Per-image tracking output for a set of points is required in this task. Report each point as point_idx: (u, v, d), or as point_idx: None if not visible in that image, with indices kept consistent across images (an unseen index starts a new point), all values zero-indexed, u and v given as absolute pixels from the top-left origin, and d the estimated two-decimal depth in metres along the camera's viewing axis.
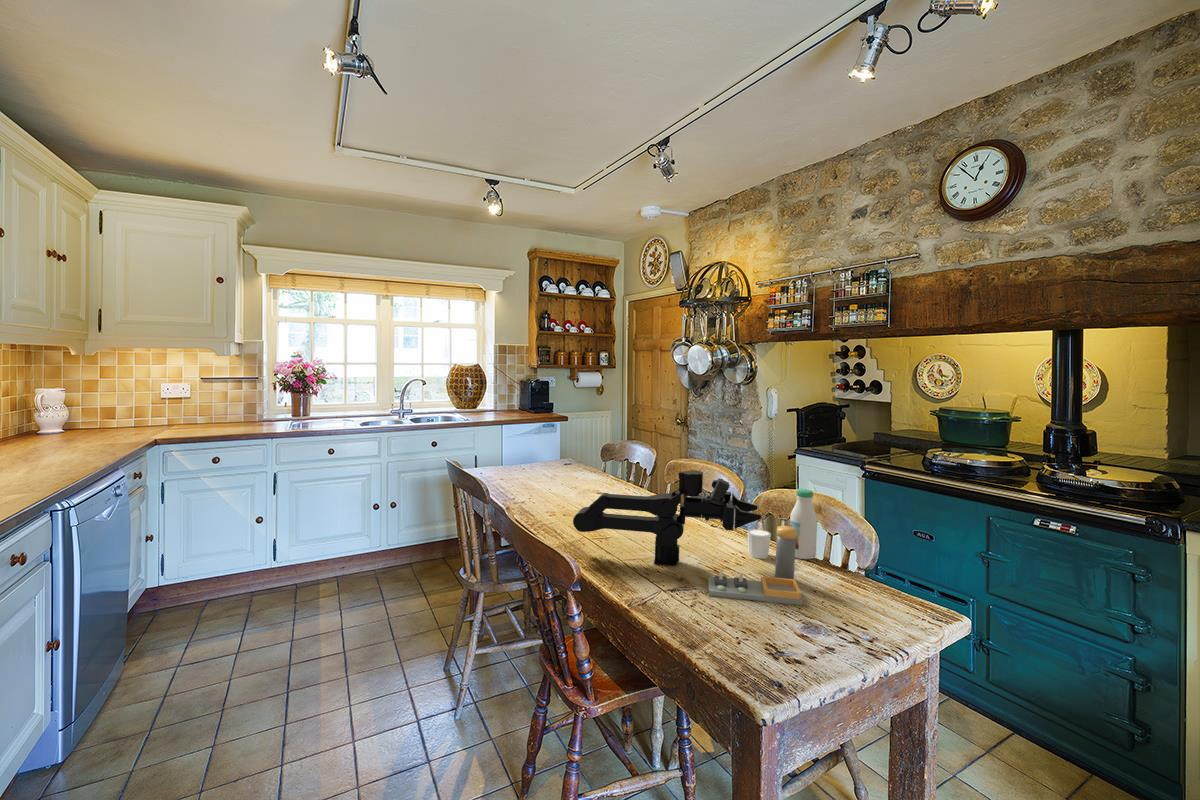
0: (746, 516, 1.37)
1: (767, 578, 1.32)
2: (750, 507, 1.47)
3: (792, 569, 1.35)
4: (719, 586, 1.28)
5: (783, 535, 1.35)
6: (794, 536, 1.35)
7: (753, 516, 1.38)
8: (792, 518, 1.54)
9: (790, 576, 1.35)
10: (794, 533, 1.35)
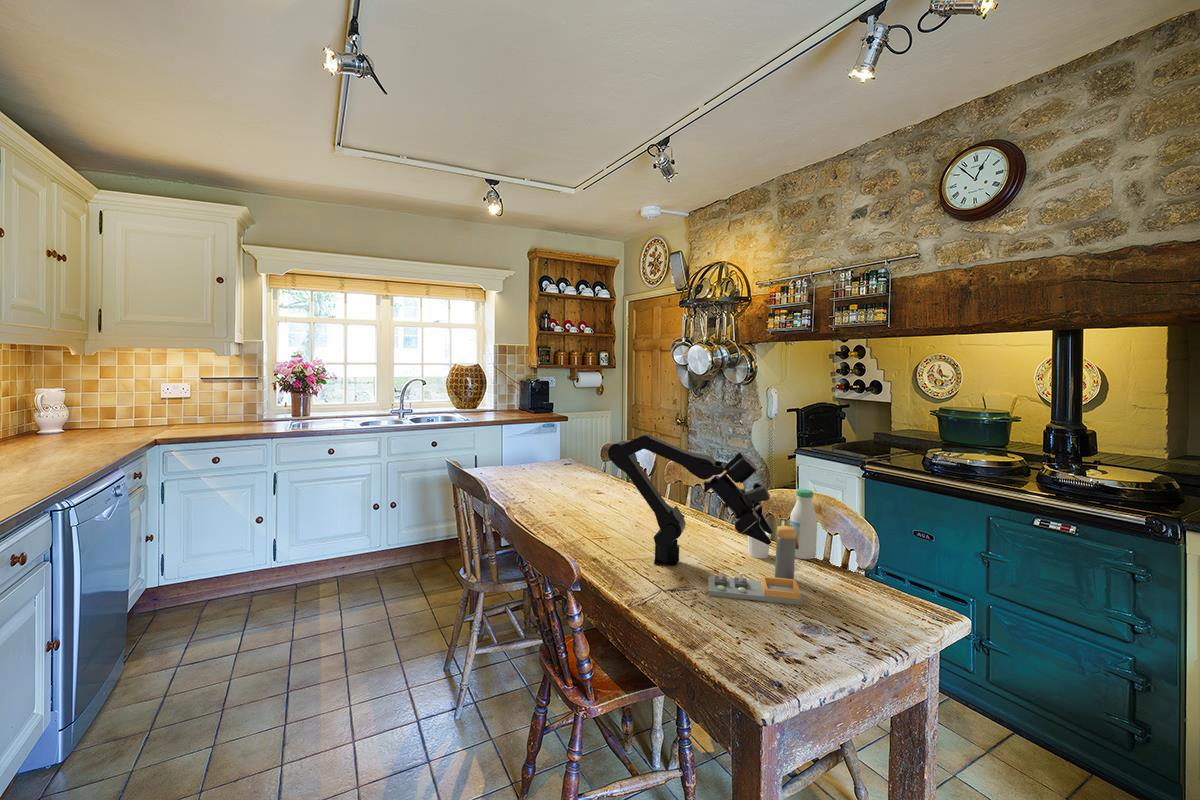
0: (759, 533, 1.33)
1: (767, 578, 1.32)
2: (766, 527, 1.42)
3: (792, 569, 1.35)
4: (719, 586, 1.28)
5: (783, 535, 1.35)
6: (794, 536, 1.35)
7: (765, 538, 1.33)
8: (792, 518, 1.54)
9: (790, 576, 1.35)
10: (794, 533, 1.35)
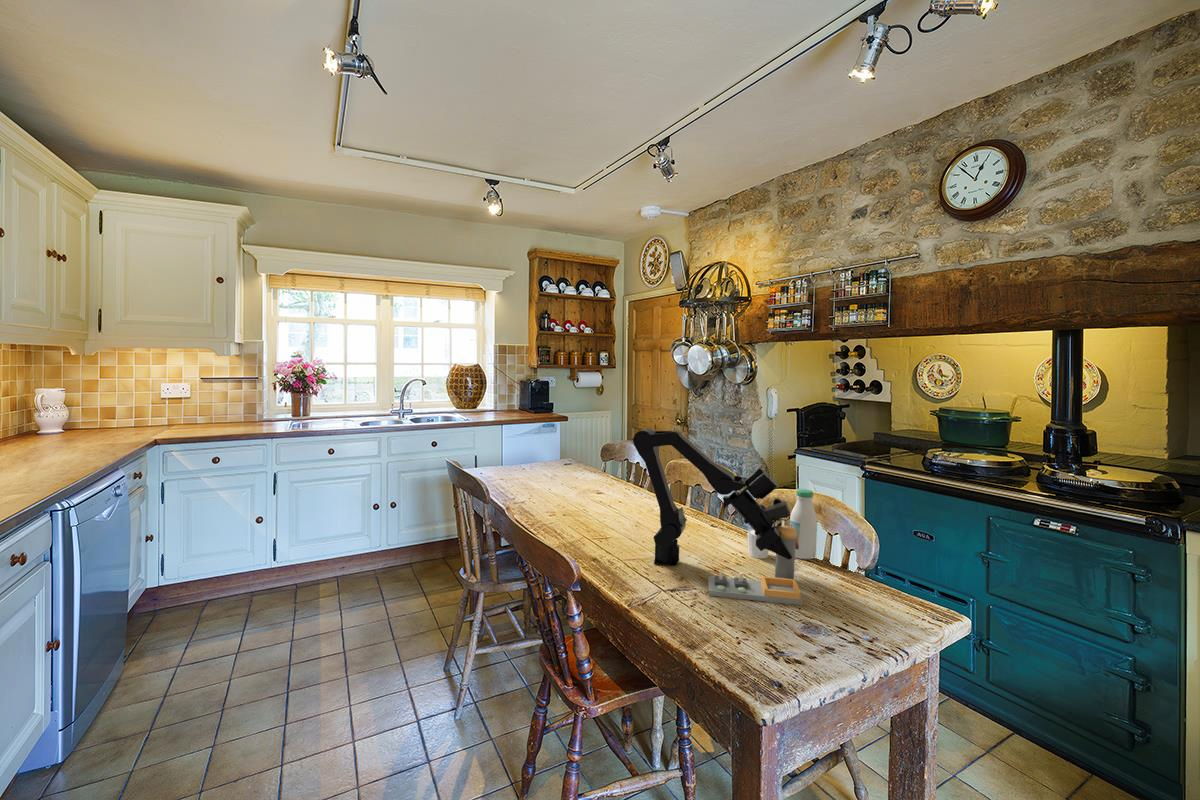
0: (780, 547, 1.34)
1: (767, 578, 1.32)
2: None
3: (792, 569, 1.35)
4: (719, 586, 1.28)
5: (783, 535, 1.35)
6: (794, 536, 1.35)
7: (786, 552, 1.34)
8: (792, 518, 1.54)
9: (790, 576, 1.35)
10: (794, 533, 1.35)
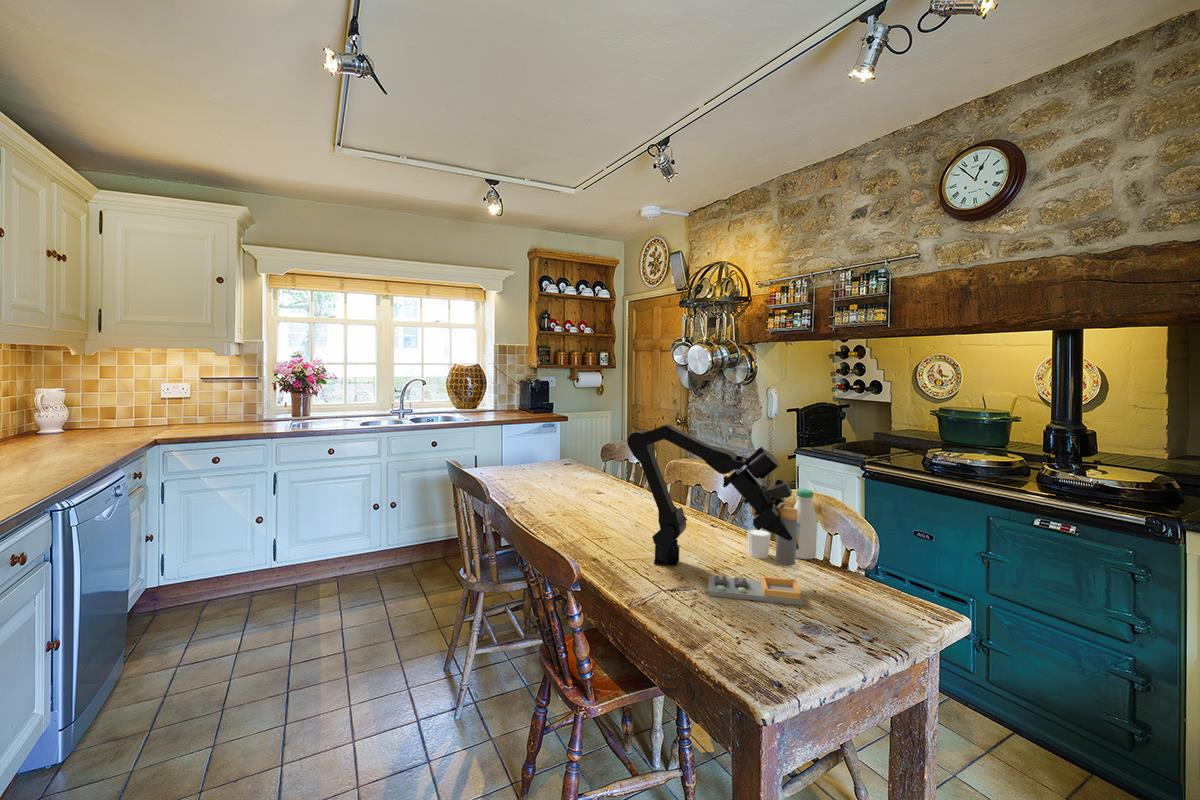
0: (780, 528, 1.31)
1: (767, 578, 1.32)
2: None
3: (793, 551, 1.32)
4: (719, 586, 1.28)
5: (783, 515, 1.31)
6: (795, 517, 1.31)
7: (785, 533, 1.30)
8: None
9: (790, 558, 1.32)
10: (795, 514, 1.31)
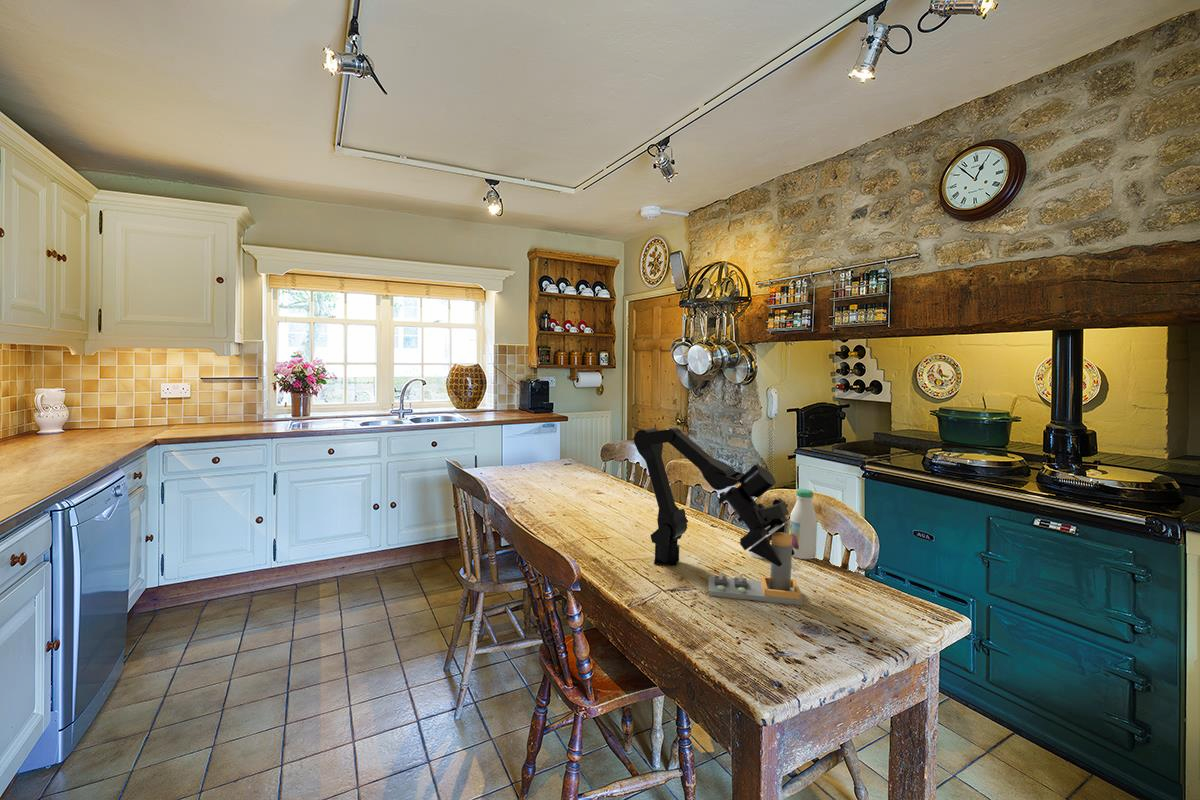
0: (768, 552, 1.23)
1: (767, 578, 1.32)
2: None
3: (786, 579, 1.26)
4: (719, 586, 1.28)
5: (775, 541, 1.26)
6: (788, 544, 1.25)
7: (774, 558, 1.23)
8: (792, 518, 1.54)
9: (783, 586, 1.26)
10: (788, 541, 1.25)
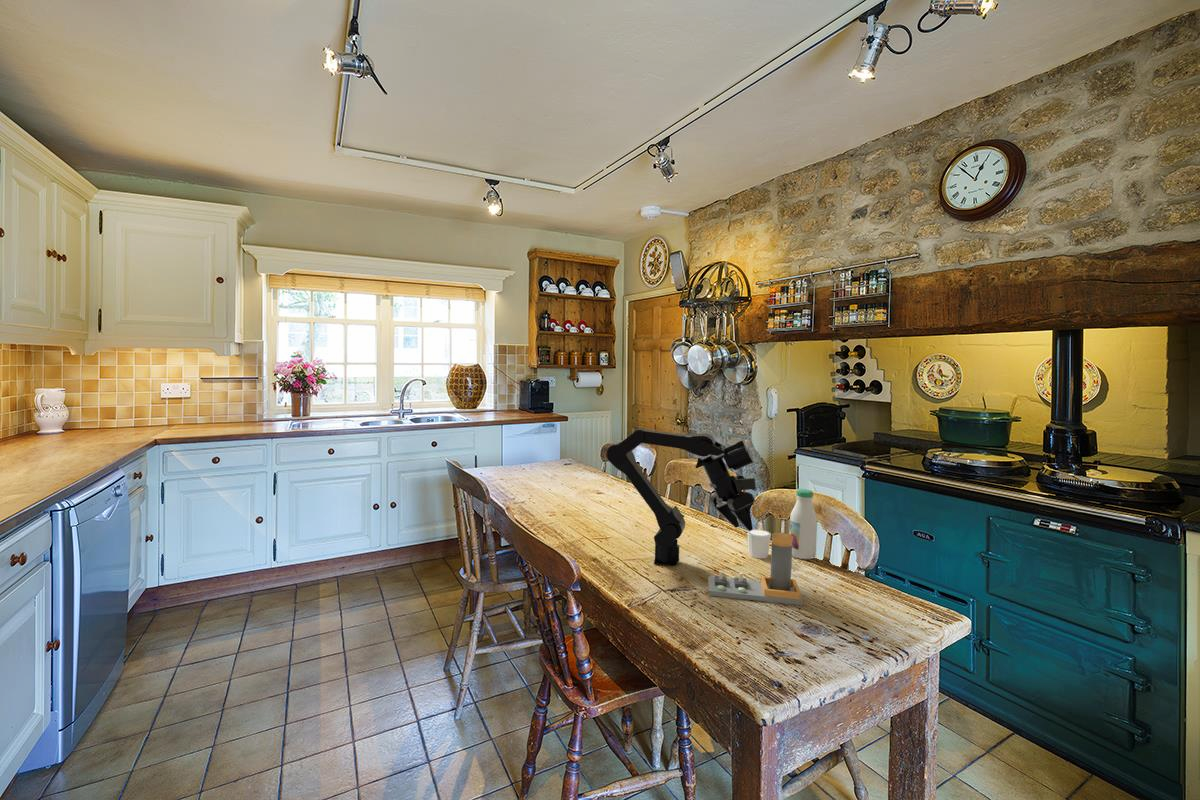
0: (746, 516, 1.36)
1: (767, 578, 1.32)
2: (734, 520, 1.45)
3: (786, 580, 1.25)
4: (719, 586, 1.28)
5: (775, 541, 1.26)
6: (788, 544, 1.25)
7: (749, 523, 1.36)
8: (792, 518, 1.54)
9: (783, 587, 1.25)
10: (788, 541, 1.25)
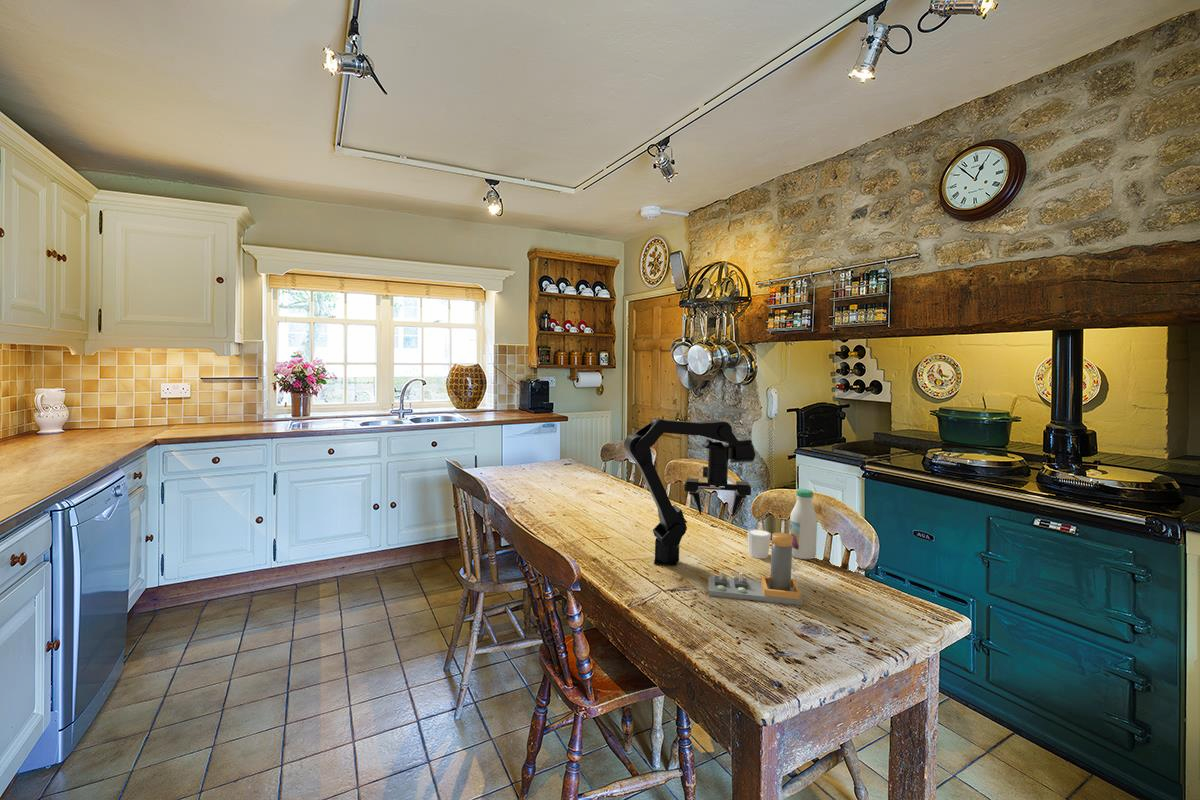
0: None
1: (767, 578, 1.32)
2: None
3: (786, 580, 1.25)
4: (719, 586, 1.28)
5: (775, 541, 1.26)
6: (788, 544, 1.25)
7: None
8: (792, 518, 1.54)
9: (783, 587, 1.25)
10: (788, 541, 1.25)
